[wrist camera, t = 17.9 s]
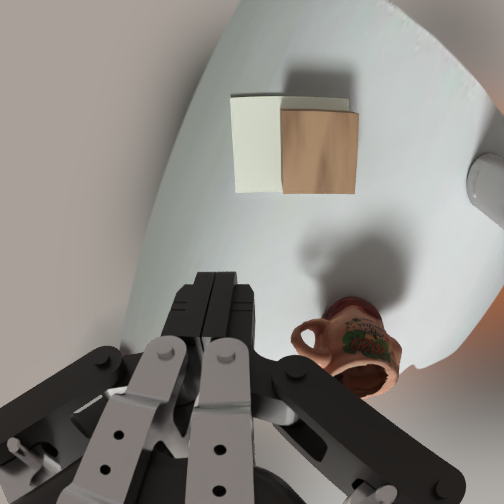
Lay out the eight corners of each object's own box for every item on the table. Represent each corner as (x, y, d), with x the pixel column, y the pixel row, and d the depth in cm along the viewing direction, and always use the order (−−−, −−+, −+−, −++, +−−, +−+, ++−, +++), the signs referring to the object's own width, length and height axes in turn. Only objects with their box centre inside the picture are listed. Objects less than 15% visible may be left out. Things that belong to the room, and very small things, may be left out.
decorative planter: (270, 325, 49) (270, 395, 37) (302, 269, 43) (314, 339, 31) (366, 350, 52) (383, 411, 40) (404, 304, 46) (433, 365, 34)
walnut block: (279, 108, 32) (346, 110, 32) (281, 180, 37) (343, 181, 36) (282, 110, 28) (358, 113, 27) (283, 193, 32) (354, 194, 32)
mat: (348, 98, 31) (349, 98, 31) (345, 191, 37) (345, 192, 37) (230, 97, 32) (230, 97, 32) (236, 191, 38) (235, 192, 38)
